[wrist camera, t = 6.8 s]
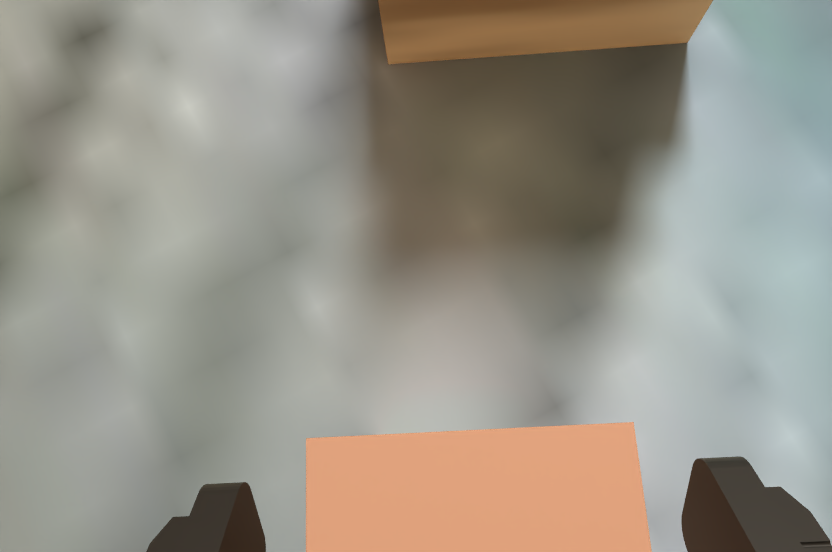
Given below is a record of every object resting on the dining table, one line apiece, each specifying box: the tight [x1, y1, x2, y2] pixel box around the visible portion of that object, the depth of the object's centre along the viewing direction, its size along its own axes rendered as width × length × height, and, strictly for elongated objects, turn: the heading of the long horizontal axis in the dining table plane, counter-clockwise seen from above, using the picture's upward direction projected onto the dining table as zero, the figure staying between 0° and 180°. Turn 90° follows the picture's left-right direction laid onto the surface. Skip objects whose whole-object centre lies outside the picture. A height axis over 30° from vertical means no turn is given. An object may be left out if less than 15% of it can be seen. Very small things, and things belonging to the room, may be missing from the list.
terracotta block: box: [306, 422, 652, 552], centre depth 12 cm, size 4×4×9 cm
